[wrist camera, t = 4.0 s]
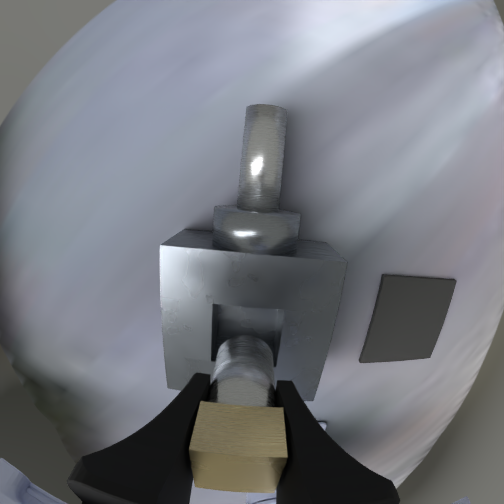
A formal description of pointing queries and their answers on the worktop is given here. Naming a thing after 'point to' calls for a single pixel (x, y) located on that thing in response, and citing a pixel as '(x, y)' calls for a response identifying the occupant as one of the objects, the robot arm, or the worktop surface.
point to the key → (240, 422)
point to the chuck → (251, 275)
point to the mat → (407, 318)
